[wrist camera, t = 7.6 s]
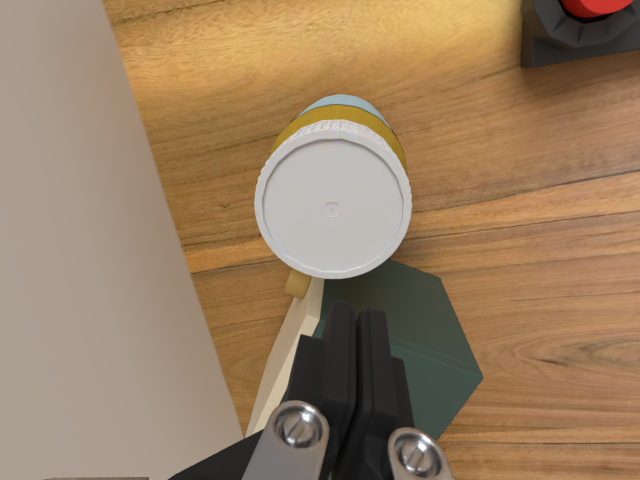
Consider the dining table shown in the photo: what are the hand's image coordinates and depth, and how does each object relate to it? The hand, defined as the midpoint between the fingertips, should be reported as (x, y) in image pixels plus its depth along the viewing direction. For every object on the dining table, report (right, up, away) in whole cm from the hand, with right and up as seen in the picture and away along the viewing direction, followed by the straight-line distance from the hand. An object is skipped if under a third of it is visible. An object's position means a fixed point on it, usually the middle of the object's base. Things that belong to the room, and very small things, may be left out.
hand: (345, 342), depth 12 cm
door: (-4, -2, +22) cm, 22 cm away
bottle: (+1, +10, +17) cm, 20 cm away
